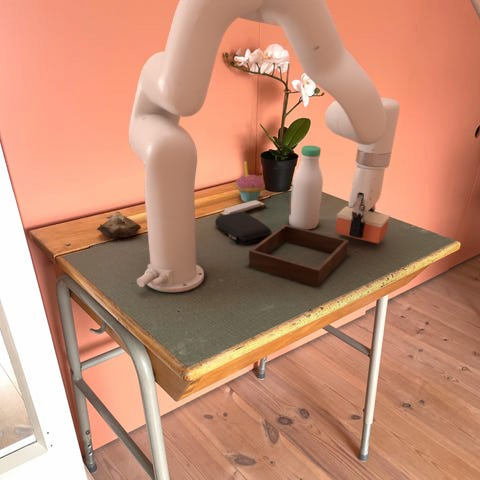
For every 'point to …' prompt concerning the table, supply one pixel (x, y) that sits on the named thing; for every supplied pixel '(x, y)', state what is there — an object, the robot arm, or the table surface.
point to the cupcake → (249, 186)
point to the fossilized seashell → (119, 226)
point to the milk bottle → (306, 190)
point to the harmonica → (244, 207)
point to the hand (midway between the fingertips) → (360, 230)
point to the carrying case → (243, 227)
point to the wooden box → (293, 269)
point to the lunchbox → (372, 229)
